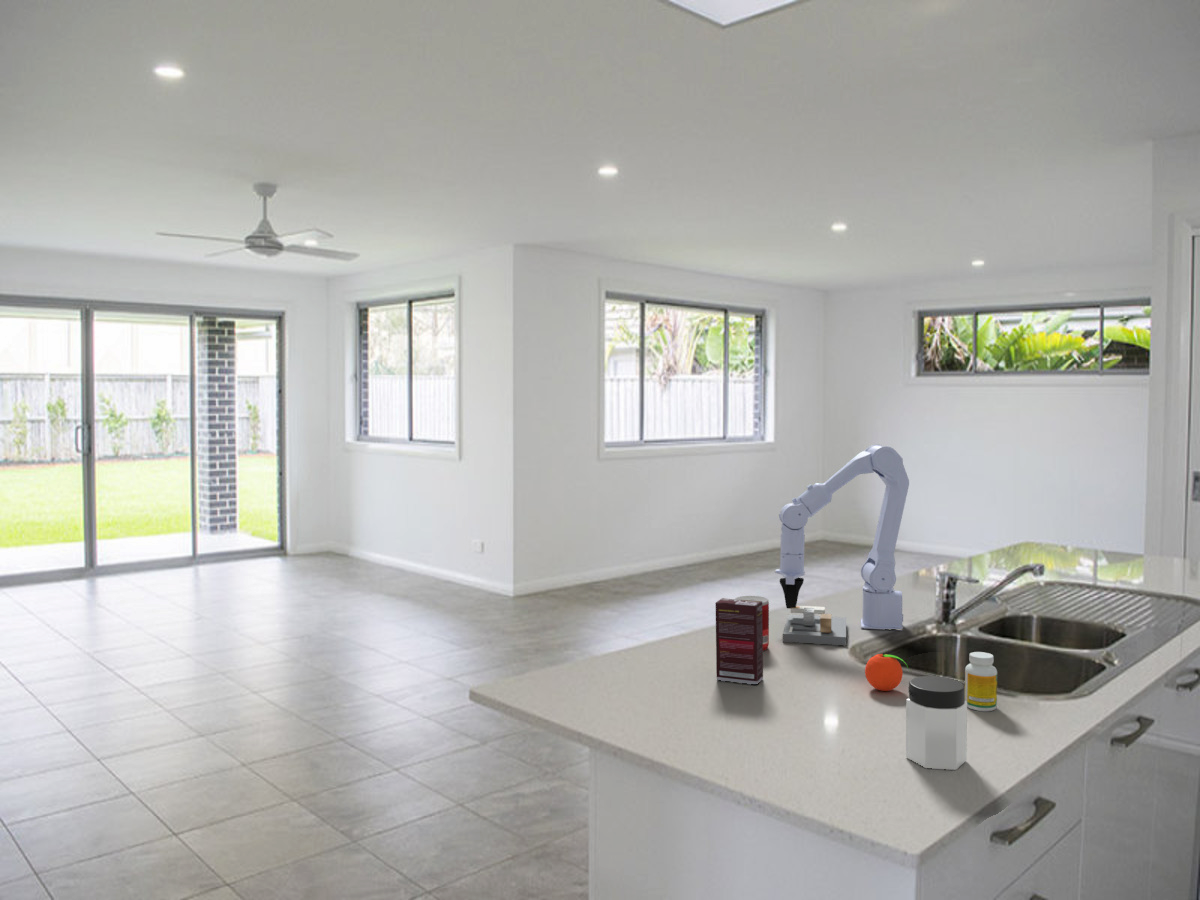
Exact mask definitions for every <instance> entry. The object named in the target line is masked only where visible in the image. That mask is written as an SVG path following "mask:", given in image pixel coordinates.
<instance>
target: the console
mask: <svg viewBox="0 0 1200 900" xmlns="http://www.w3.org/2000/svg"><path fill="white" fill-rule="evenodd" d="M820 616H821V615H815V621H814V626H809V625H803V614H787V616H786V621H785V625H784V627H783V628H784V629H783V631H782V643H786V642H799V643H798V644H803V643H815V644H814V645H820V644H832V645H831V646H838V645H846V646H847V617H846V616H831V633H829V632H820Z"/></svg>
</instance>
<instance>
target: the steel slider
mask: <svg viewBox="0 0 1200 900" xmlns="http://www.w3.org/2000/svg"><path fill="white" fill-rule="evenodd" d="M802 615H803V625H809V626H814V621H815V616H816V614H815V608H804V612H803V613H802Z"/></svg>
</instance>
